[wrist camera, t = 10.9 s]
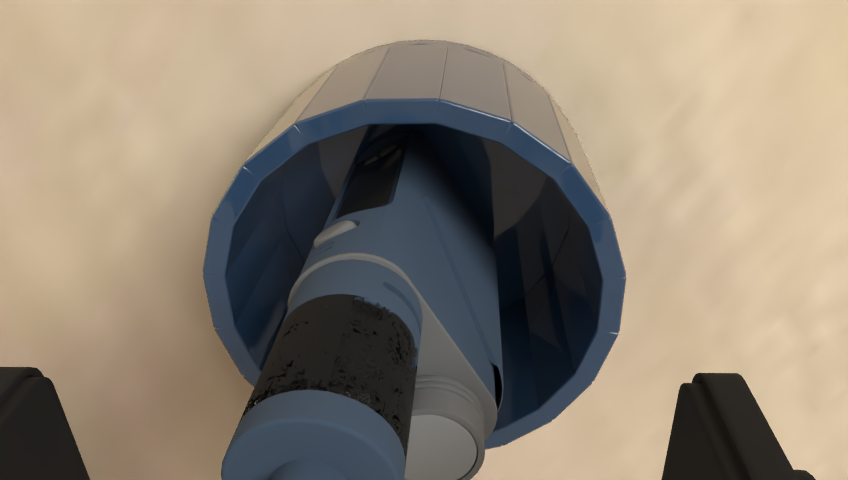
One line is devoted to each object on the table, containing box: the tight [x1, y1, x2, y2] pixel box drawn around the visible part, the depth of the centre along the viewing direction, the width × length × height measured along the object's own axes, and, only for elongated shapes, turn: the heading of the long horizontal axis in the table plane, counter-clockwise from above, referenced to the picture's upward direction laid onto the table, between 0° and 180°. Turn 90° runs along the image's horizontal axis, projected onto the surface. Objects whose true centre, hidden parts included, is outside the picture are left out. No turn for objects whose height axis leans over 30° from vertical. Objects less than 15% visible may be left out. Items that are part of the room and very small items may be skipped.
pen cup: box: [203, 40, 626, 450], centre depth 17 cm, size 9×9×6 cm
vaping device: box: [221, 128, 504, 480], centre depth 14 cm, size 3×5×12 cm, turn 31°
